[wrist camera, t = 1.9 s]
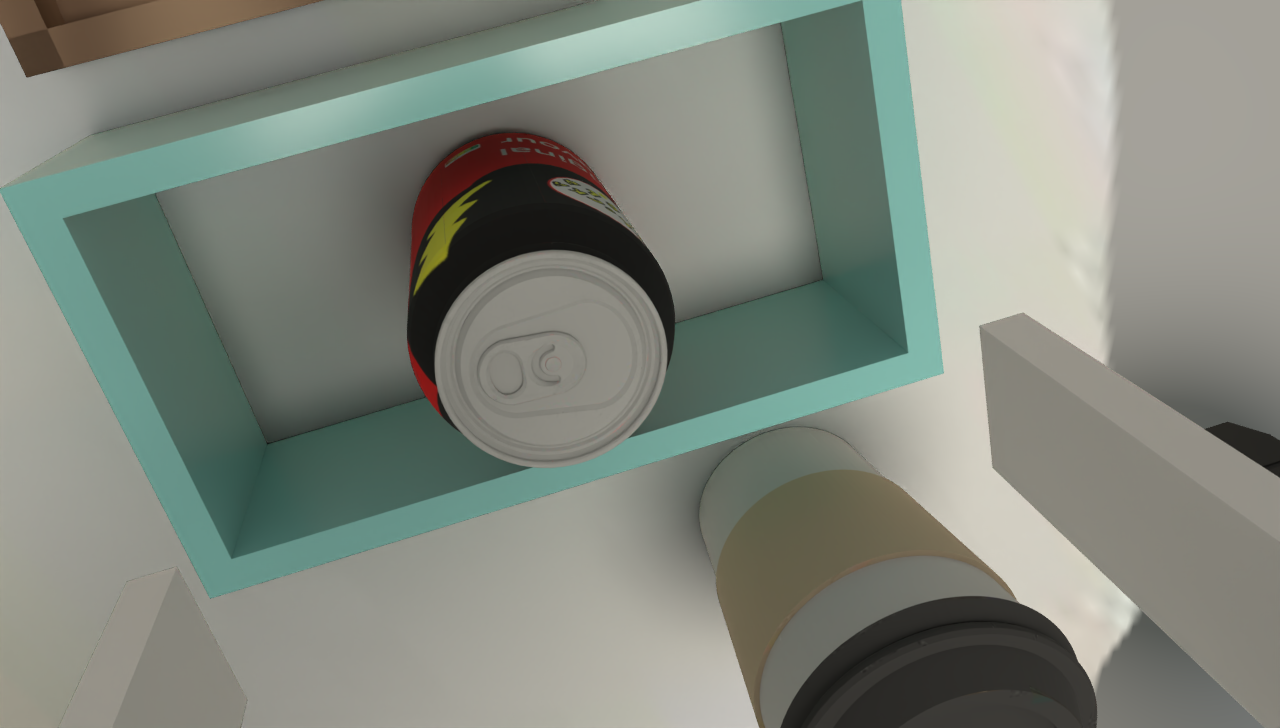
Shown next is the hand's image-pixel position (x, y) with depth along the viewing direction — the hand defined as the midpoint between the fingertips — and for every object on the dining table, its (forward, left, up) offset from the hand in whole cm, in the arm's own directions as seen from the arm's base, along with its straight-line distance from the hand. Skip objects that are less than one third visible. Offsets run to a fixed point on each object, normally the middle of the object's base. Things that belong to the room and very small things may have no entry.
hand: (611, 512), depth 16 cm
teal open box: (0, 0, -19) cm, 19 cm away
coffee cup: (+7, -14, -19) cm, 24 cm away
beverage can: (0, 0, -19) cm, 19 cm away
